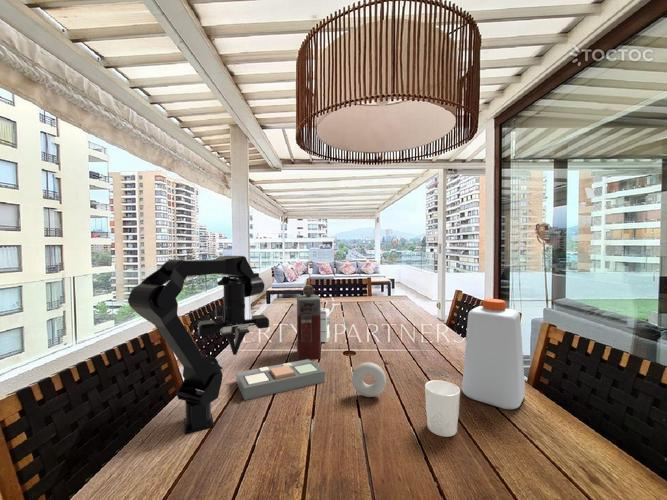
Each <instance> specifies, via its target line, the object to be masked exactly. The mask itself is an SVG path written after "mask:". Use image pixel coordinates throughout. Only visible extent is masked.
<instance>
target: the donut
mask: <svg viewBox="0 0 667 500" xmlns="http://www.w3.org/2000/svg"><path fill="white" fill-rule="evenodd" d="M368 375H369V376H372V377H373V378H374V381H373V383H372V384H367V383H365V382H364V377H365V376H368ZM351 383H352V386H353V388H354V390H355V391H356V392H357V393H358V394H359V395H361V396H363V397H366V398H371V397H372V398H374V397H377V396H379V395H380V394H381V393H383V391H384V389H386V385H387V376H386V374H385V372H384V370H383V369H382V367H380V365H378V364H376V363H375V362H370V361H369V362H362V363H361V364H358V365H357V366H356V367H355V369H354V370H353V372H352V375H351Z"/></svg>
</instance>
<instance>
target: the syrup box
mask: <svg viewBox="0 0 667 500" xmlns="http://www.w3.org/2000/svg"><path fill="white" fill-rule="evenodd" d="M330 330H331V329H330V308H327V307H321V342H325V344H327V343H328V342H329V340H330V338H331V337H330V336H331V334H330Z"/></svg>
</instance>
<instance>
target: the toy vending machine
mask: <svg viewBox="0 0 667 500" xmlns="http://www.w3.org/2000/svg"><path fill="white" fill-rule="evenodd" d="M314 292H315V289H314V287H313V286H312V285H311V284H307V285H305V286H304V287H303V288H302V293H303V295H302V294H300V295H297V297H296V356H297V361H301V360H307V359H309V360H318V359H321V357H322V355H321V353H322V349H321V348H322V347H321V346H322V345H321V344H322V343H321V308H322V307H321V306H322V305H321V304H322V303H321V302H322V301H321V298H320V297H319V295H317V294H314Z"/></svg>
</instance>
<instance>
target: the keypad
mask: <svg viewBox="0 0 667 500" xmlns="http://www.w3.org/2000/svg"><path fill="white" fill-rule="evenodd" d="M306 364H312V365H313V366H314V367H315V368H316V369H317V370H318V371H315V372H310V373H306V374H301V375H300V374H299V373H298V372H297V371H296V370H295V369H294V367H296V366H301V365H306ZM287 365H288V366H289V367H290V368H291V369H292V370H293V371H294V376H291V377H286V378H282V379H277V380H275V379H274V378H273V377H272V375H271V374H270V369H271V368H277V367H282V366H287ZM260 373H265V375H266V376H267V378H268V379H269V381H267V382H262V383H258V384H253V385H247V383H246V381H245V376H250V375H255V374H260ZM235 377H236V378H235V382H236V384H237V385H236V386H238V387H237V388H238V389H239V391H240V393H241V395H242V398H243V400H244V401H248V400H252V399H256V398H259V397H266V396H270V395H273V394H278V393H283V392H287V391H291V390H296V389H300V388H304V387H308V386H313V385H318V384H322V383H325V370H324V369H323V368H322V367H320V366H319V365H318V364H317V363H315V362H314V361H311V359H303V360H297V361H291V362H286V363H281V364H280V363H279V364H276V365H269V366H263V367H259V368H254V369H249V370H243V371H237V372H235Z"/></svg>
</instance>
